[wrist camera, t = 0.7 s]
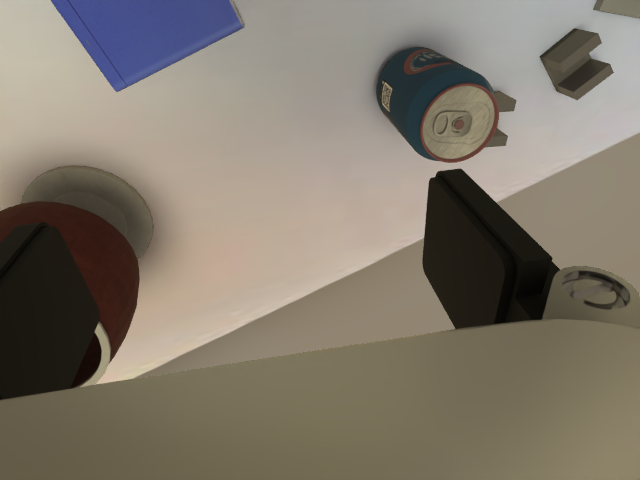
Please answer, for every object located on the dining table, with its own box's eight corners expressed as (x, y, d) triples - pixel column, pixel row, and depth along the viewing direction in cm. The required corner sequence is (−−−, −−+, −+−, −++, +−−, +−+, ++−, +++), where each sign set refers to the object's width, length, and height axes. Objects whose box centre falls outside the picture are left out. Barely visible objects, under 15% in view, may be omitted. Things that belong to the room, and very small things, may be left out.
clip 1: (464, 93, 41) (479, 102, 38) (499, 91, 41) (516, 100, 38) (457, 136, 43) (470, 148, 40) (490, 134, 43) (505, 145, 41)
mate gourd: (183, 199, 43) (138, 347, 27) (132, 289, 49) (69, 458, 32) (16, 120, 37) (-177, 251, 20) (-20, 235, 42) (-195, 409, 26)
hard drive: (187, -90, 30) (44, -8, 31) (244, 27, 34) (116, 93, 36) (190, -87, 31) (52, -10, 32) (244, 25, 35) (121, 88, 37)
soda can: (451, 45, 38) (520, 75, 28) (436, 120, 42) (492, 169, 32) (377, 43, 37) (422, 73, 27) (369, 120, 41) (405, 171, 31)
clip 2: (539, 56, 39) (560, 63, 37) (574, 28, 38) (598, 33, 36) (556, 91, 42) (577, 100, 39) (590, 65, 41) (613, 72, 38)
